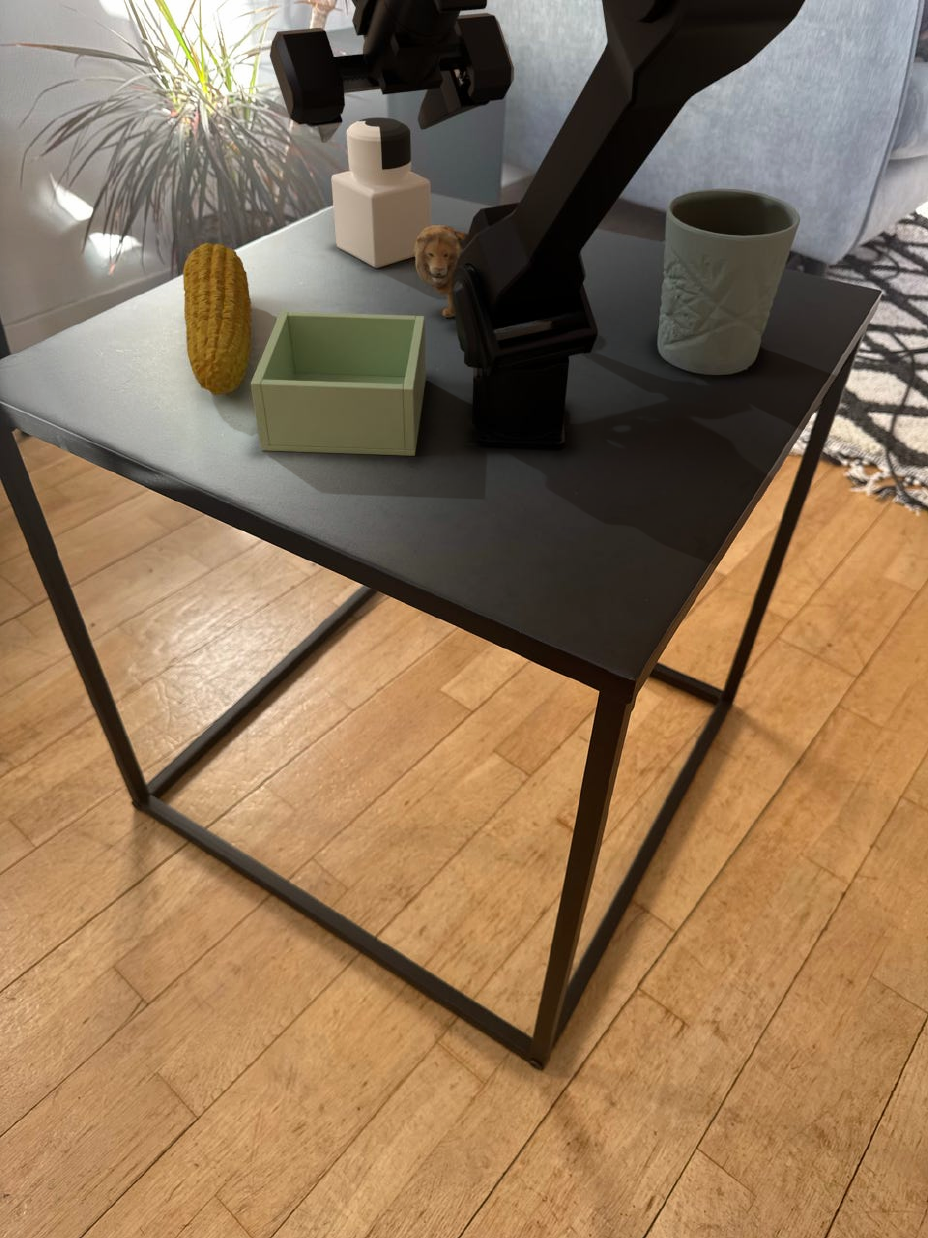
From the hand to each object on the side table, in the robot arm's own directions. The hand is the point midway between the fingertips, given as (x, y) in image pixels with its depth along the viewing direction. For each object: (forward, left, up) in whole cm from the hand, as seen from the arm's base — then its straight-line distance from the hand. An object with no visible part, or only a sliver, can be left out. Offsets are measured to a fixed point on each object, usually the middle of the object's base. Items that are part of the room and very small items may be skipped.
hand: (372, 130), depth 82 cm
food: (+12, +14, -14) cm, 23 cm away
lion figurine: (-11, +7, -14) cm, 19 cm away
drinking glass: (-30, +12, -14) cm, 35 cm away
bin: (0, +24, -14) cm, 27 cm away
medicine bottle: (0, -8, -14) cm, 16 cm away
